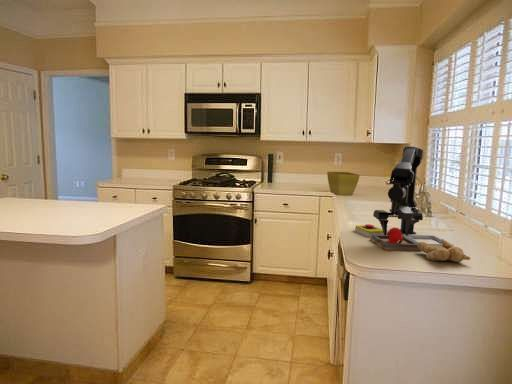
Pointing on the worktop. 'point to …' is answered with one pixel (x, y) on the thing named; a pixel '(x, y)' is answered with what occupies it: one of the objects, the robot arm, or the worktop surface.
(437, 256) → the ginger root
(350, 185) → the flower pot
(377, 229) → the emergency button
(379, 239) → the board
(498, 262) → the worktop surface
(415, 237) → the tray
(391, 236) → the red rounded lump
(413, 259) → the worktop surface
